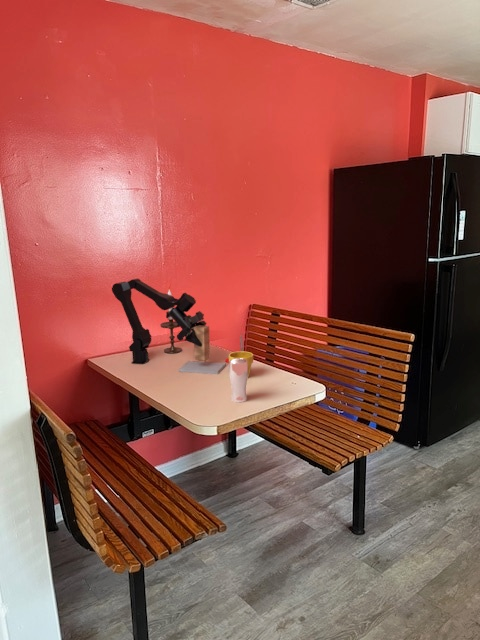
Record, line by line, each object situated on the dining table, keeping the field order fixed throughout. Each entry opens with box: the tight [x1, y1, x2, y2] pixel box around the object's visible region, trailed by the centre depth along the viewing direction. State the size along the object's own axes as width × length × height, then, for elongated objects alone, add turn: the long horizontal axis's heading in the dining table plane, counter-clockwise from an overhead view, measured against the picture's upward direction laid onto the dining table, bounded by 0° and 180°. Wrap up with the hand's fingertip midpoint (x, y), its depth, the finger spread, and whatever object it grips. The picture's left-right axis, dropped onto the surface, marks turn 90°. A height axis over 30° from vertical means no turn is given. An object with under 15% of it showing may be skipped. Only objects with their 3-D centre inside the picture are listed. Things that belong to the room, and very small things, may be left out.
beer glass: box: [228, 358, 249, 403], centre depth 177 cm, size 7×7×15 cm
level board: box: [178, 360, 227, 375], centre depth 215 cm, size 18×12×1 cm, turn 74°
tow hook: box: [224, 334, 245, 364], centre depth 224 cm, size 8×13×9 cm
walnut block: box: [193, 325, 211, 362], centre depth 213 cm, size 5×5×15 cm
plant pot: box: [228, 350, 254, 378], centre depth 202 cm, size 10×10×10 cm
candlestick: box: [159, 283, 183, 355], centre depth 241 cm, size 11×11×35 cm
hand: (204, 344), depth 212 cm, fingers closed on walnut block, 5 cm apart
